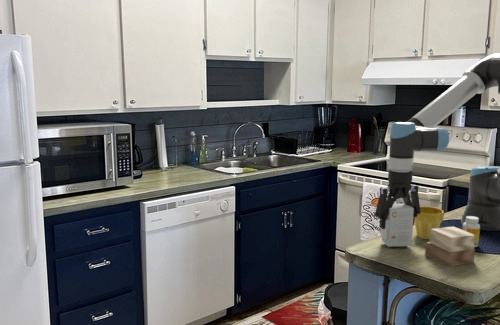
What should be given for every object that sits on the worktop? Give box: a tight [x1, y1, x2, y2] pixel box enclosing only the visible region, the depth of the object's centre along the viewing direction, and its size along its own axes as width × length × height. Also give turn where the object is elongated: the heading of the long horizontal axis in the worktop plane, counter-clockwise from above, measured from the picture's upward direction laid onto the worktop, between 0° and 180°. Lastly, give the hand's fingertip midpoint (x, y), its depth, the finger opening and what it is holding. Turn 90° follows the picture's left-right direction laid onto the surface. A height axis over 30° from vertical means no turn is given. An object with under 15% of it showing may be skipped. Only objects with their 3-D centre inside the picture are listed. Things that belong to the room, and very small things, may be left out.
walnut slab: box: [424, 241, 476, 267], centre depth 153 cm, size 10×10×4 cm
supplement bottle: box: [461, 216, 481, 248], centre depth 165 cm, size 5×5×10 cm
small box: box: [381, 202, 414, 248], centre depth 162 cm, size 8×6×13 cm
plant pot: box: [414, 205, 445, 240], centre depth 173 cm, size 10×10×10 cm
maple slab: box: [429, 225, 475, 252], centre depth 152 cm, size 9×9×4 cm
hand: (396, 236), depth 163 cm, fingers closed on small box, 9 cm apart
